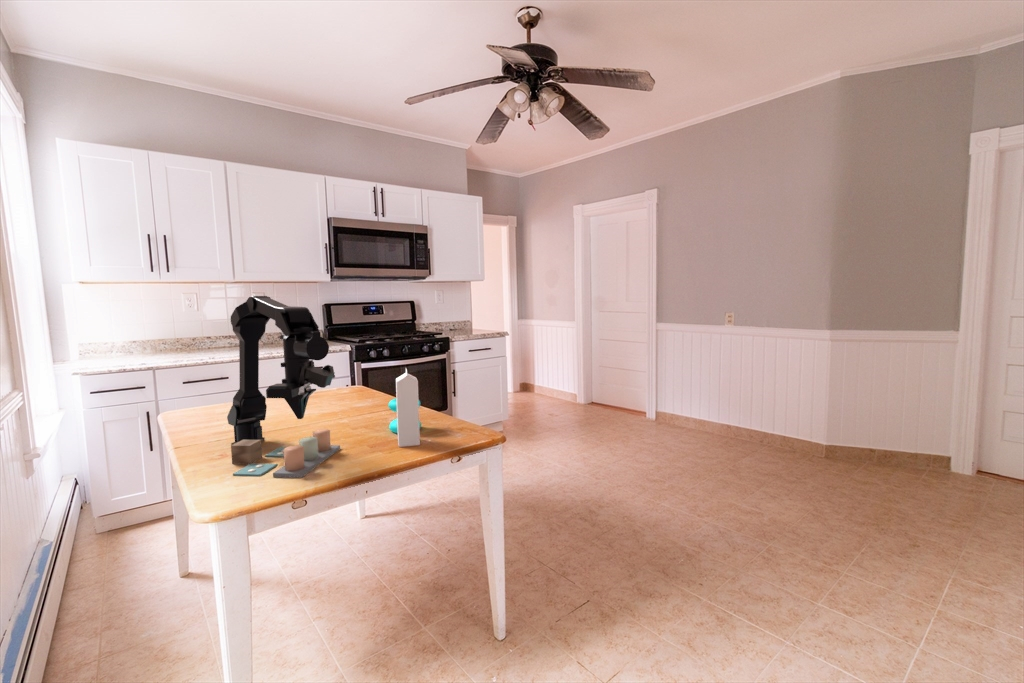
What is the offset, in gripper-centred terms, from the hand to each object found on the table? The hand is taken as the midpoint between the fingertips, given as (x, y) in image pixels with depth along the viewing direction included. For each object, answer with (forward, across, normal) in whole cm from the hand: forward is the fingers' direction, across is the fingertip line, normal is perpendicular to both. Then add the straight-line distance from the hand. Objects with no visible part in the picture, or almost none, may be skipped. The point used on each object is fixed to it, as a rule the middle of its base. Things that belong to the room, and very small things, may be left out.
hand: (300, 418), depth 118 cm
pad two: (+12, -4, +10) cm, 16 cm away
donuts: (+12, +32, -17) cm, 38 cm away
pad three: (+12, +9, +10) cm, 18 cm away
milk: (+12, +19, -22) cm, 32 cm away
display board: (+12, +3, 0) cm, 13 cm away
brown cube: (+12, +3, +17) cm, 21 cm away
